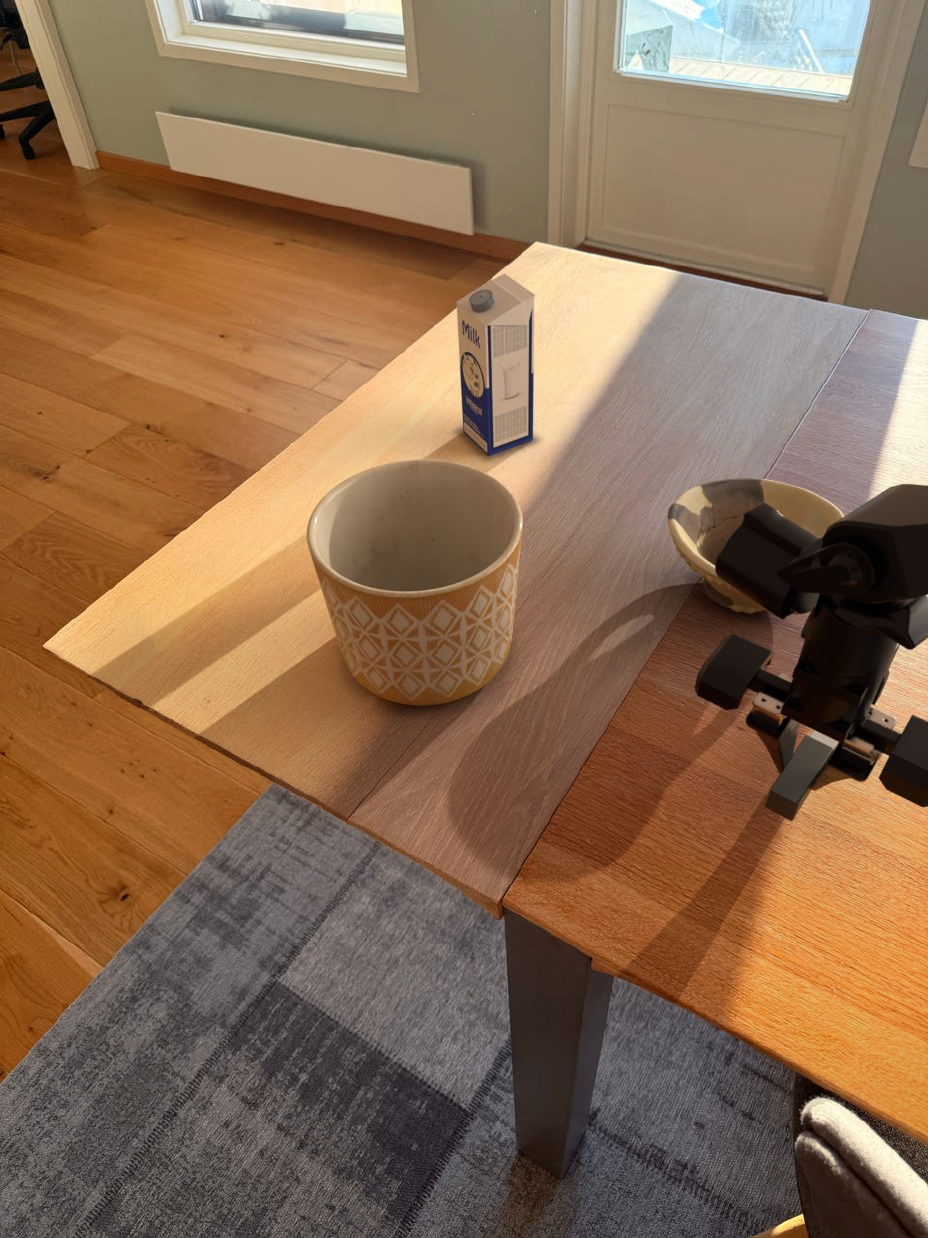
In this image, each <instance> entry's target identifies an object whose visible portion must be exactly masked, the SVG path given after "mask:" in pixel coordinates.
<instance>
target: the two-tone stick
mask: <svg viewBox="0 0 928 1238" xmlns="http://www.w3.org/2000/svg"><path fill="white" fill-rule="evenodd" d="M812 730H813V729H812ZM837 743H838V741H836V740H834V739H832V738H829V737H827V736H825V735H823V734H821V733H819V732H817V731H815V730H813V731H812V732H811V733H810V735H808V734H805V735H804V736H803V738H802V740H801V741H800V742H799V744H798V746H797V748H796V749H795V750H794V752H793V756H792V757H791V759H790V760H789V762H788V764H787V765H786V767H785V768H784V769H783V771H782V772H781V774H780V773H779V776H778V777H777V779H776V780H775V782H774V783H773V784H772V787H771V788H770V790H769V793H768V795H767V799H766V801H765V804H764V807H765V808H766V809H768V810H770V811H772V812H773V813H776V814H777V815H779V816H781V817H783V818H785V819H786V820H788V821H790V822H794V820H795V818H796V816H797V815H798V813H799V811H800V810H801V808H802V806H803V805H804V803H805V801H806V800H807V799H808V796H809V795H810V794H811V791H812V790H811V783H812V781H813V780H814V778H815V776H816V775H817V773H818V771H819V770H820V768H821V767H822V765H823V764H824V762H825V761H826V759H827V758H828V756H829V755H830V753H831V752H832V750H833V749H834V747H835V746H836V745H837Z"/></svg>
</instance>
